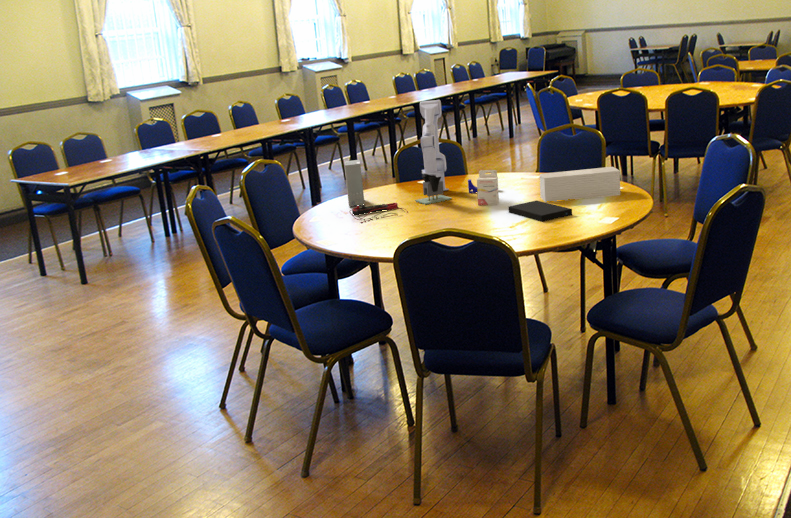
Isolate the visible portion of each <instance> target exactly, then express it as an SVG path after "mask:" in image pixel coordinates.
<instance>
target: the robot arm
mask: <svg viewBox="0 0 791 518" xmlns="http://www.w3.org/2000/svg"><path fill="white" fill-rule="evenodd" d="M419 112H420V114H421V116H422V118H423V119H424V124H423V125H422V135H421V137H420V147H421V151H422V157H423V166H424V169H421V174H422V175H421V178H422V179H423V182H428V181H430V182H431V185H432V190H433V192H436V191H438V185H439V181H443V192H445V191H449V190H450V189H449V188H446V183H445V182H446V181H445V172H446V171H447V160H446V155H445V154H443V153H442V152H440V142H439V129H438V127H439V126H438V121H439V118H441V117H442V113H443V112H442V102H441V100H440V99H436V100H435V99H434V100H423V101H422V100H421V101H420V102H419Z"/></svg>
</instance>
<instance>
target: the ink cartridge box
mask: <svg viewBox="0 0 791 518" xmlns="http://www.w3.org/2000/svg"><path fill="white" fill-rule="evenodd" d="M498 179H499V178H498V171H497V169H485V170H484V169H483V170H479V171H478V178H476V187H477V193H476V194H477V205H478V206H498V204H499V203H500V198H499V182H498V181H499V180H498Z"/></svg>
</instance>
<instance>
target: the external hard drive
mask: <svg viewBox="0 0 791 518" xmlns="http://www.w3.org/2000/svg"><path fill="white" fill-rule="evenodd" d="M508 214H512V215H516V216H519V217H523V218H527V219H531V220H534V221H537V222H540V223H544V222H548V221H553V220H557V219H561V218H567V217H571V216H573V209H572V208H569V207H565V206H561V205H558V204H552V203H550V202H545V201H541V200H533V201H528V202H523V203H519V204H514V205H509V206H508Z"/></svg>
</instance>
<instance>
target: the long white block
mask: <svg viewBox="0 0 791 518" xmlns="http://www.w3.org/2000/svg"><path fill="white" fill-rule="evenodd" d="M539 189H540V191H539V192H540V194H539V195H540V198H541V199H542V201H543V202H545V203H548V202H547V201H554V202H558V201H557V200H565V201H569V200H568V199H575V200H582V199H581V198H585V199H593V198H603V197H605V198H606V197H613V196H614V197H615V196H621V170H619V169H618V168H616V167H614V166H606V167H597V168H586V169H577V170H576V169H575V170H567V171H565V170H564V171H554V172H545V173H539Z"/></svg>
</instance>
